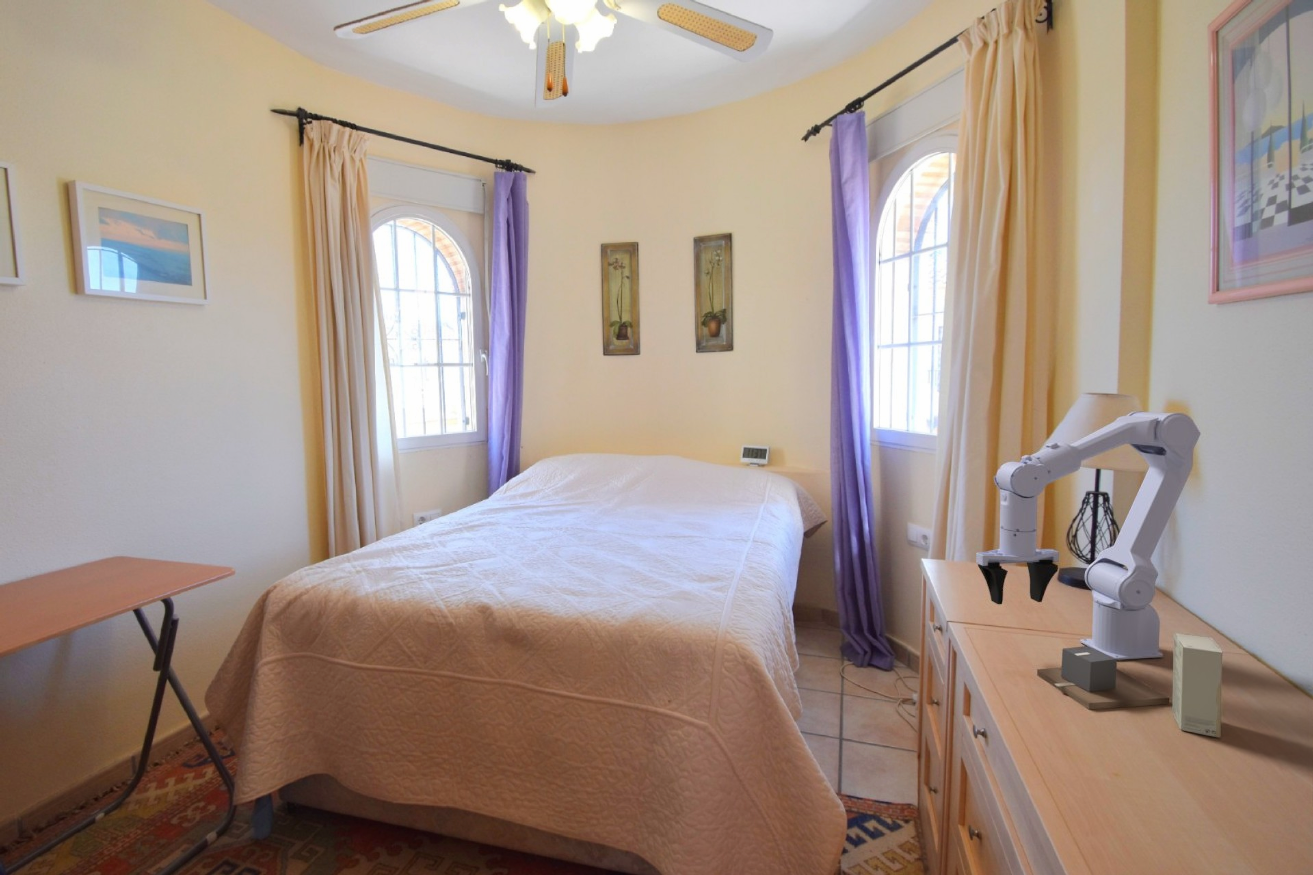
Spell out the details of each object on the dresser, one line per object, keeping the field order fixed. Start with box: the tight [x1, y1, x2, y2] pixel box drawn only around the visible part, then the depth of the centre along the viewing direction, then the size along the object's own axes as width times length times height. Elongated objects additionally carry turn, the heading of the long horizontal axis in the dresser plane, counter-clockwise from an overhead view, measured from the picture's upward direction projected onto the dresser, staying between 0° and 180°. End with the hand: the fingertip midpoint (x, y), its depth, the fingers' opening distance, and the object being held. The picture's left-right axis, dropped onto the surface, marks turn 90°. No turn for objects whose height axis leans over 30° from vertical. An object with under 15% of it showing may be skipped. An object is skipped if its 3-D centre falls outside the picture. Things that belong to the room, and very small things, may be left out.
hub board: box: [1036, 667, 1171, 710], centre depth 96 cm, size 14×11×4 cm
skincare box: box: [1172, 632, 1224, 739], centre depth 85 cm, size 6×4×12 cm
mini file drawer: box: [1061, 645, 1118, 692], centre depth 95 cm, size 5×5×5 cm
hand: (1016, 601), depth 109 cm, fingers open, 7 cm apart
